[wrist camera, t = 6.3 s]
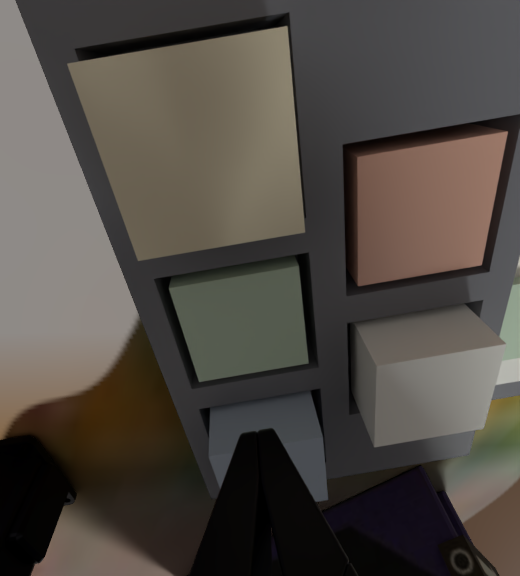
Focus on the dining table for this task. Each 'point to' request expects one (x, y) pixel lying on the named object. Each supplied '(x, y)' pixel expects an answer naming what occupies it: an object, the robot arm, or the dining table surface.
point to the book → (403, 532)
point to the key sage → (242, 317)
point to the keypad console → (319, 184)
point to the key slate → (287, 424)
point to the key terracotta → (419, 201)
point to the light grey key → (424, 373)
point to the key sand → (198, 141)
